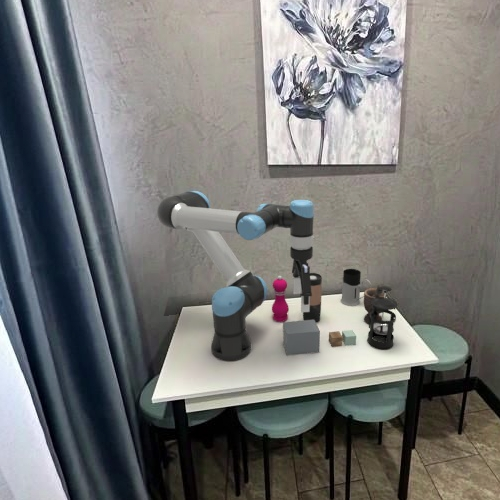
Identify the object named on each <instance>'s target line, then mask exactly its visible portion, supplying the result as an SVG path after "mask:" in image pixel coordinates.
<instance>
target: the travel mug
mask: <svg viewBox="0 0 500 500" xmlns="http://www.w3.org/2000/svg"><path fill="white" fill-rule="evenodd" d="M322 278H323V277H322V275H321V274H319V273H315V272H310V282H311V292H312V296H310V311H309V312H302V317H303V318H302V319H303V320H315V322H316V324H317V323H319V322H320V321H321V312H322V282H323V281H322V280H323V279H322ZM303 320H302V321H303Z"/></svg>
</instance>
